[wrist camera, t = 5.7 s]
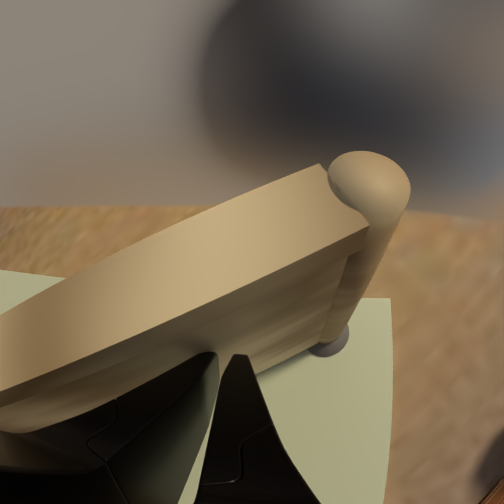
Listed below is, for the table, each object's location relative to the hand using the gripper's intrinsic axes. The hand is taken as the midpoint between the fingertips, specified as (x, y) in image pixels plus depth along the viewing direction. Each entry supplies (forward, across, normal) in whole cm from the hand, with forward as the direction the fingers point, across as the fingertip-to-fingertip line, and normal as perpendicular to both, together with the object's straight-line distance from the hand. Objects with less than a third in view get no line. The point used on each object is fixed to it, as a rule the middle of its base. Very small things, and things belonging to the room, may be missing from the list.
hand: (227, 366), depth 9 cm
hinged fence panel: (+4, +3, +5) cm, 7 cm away
